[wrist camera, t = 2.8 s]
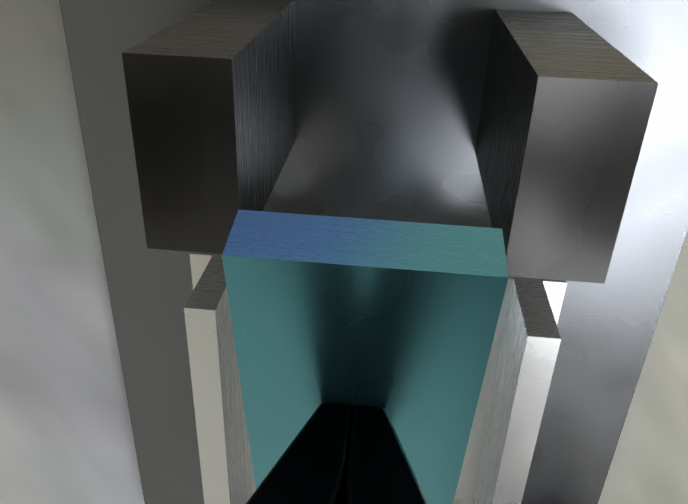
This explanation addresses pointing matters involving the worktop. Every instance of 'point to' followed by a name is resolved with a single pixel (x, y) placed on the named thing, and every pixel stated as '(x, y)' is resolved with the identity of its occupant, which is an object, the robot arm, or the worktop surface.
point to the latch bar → (364, 329)
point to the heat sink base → (390, 200)
